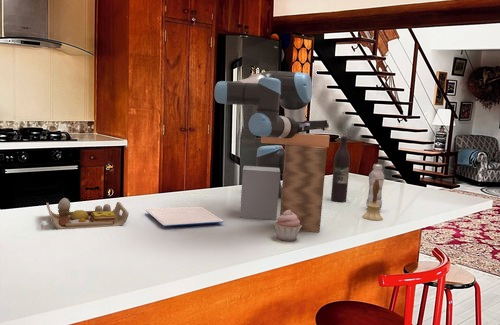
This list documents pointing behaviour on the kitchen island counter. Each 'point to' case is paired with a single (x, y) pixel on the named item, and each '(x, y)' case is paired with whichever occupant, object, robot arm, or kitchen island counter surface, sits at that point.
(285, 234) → the cupcake
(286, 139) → the bar
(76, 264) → the kitchen island counter surface
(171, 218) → the plate
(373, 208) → the hand bell
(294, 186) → the tall wooden block
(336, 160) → the wine bottle
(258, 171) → the grey rectangular block
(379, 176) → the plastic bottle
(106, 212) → the toy food set
